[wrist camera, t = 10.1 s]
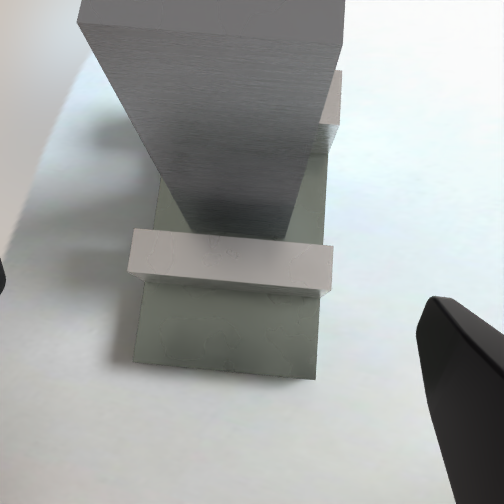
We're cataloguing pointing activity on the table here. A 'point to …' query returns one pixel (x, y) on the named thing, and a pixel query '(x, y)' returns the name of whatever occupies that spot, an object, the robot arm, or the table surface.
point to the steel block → (222, 97)
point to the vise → (238, 282)
